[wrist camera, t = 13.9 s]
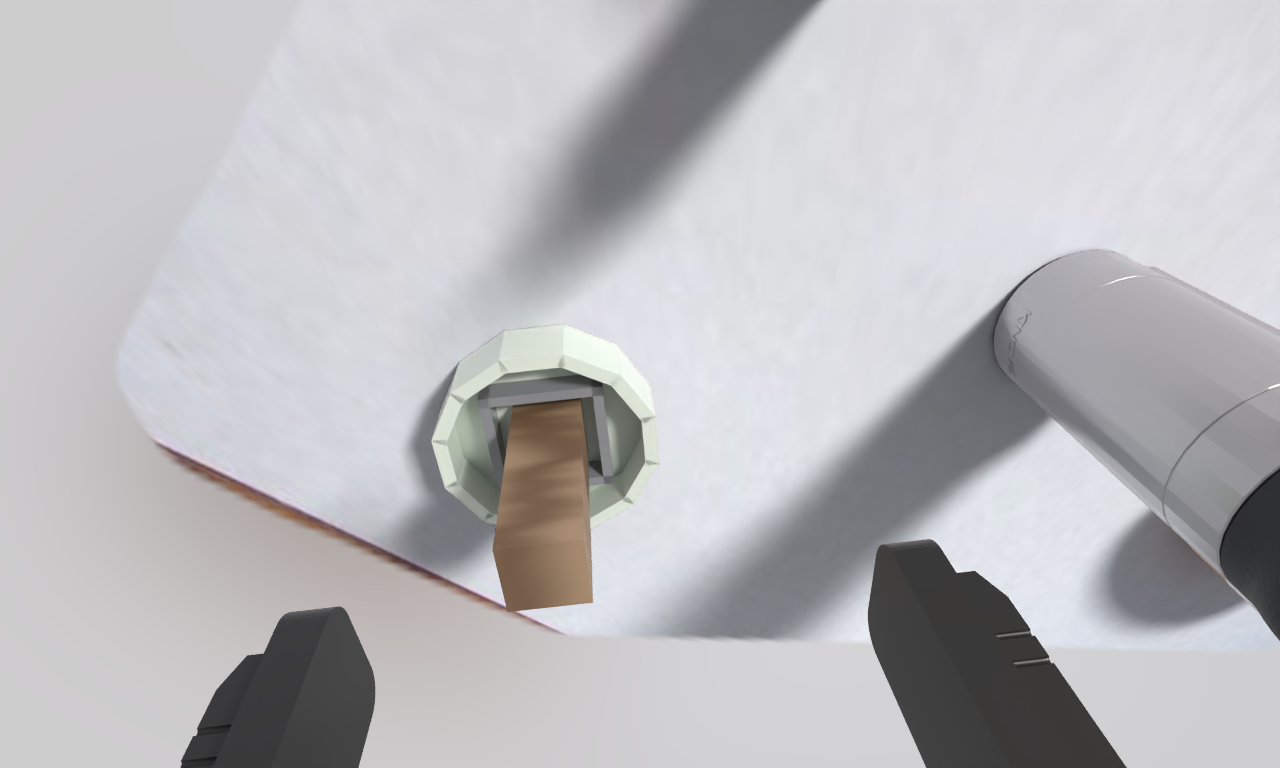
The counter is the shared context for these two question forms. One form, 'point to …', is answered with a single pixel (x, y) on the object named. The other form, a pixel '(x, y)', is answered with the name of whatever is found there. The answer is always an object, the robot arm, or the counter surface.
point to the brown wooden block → (545, 508)
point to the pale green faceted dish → (543, 373)
